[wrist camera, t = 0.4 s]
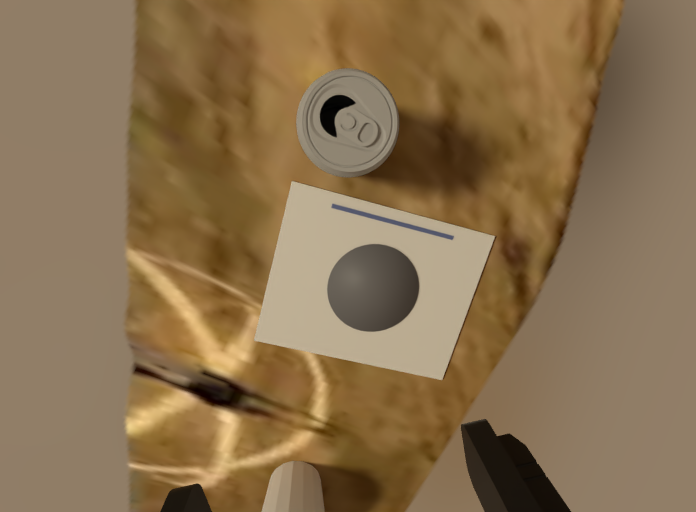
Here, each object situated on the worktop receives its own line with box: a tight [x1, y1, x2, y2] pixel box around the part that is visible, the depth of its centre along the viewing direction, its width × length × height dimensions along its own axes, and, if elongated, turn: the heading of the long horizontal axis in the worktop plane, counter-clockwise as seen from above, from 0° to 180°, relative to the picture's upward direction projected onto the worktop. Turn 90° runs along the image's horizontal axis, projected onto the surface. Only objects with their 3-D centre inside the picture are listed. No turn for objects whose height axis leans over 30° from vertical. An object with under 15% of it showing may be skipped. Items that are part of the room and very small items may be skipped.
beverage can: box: [296, 68, 399, 177], centre depth 28 cm, size 6×6×12 cm
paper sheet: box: [254, 181, 495, 380], centre depth 38 cm, size 16×20×1 cm
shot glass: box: [262, 461, 325, 512], centre depth 39 cm, size 7×7×7 cm
